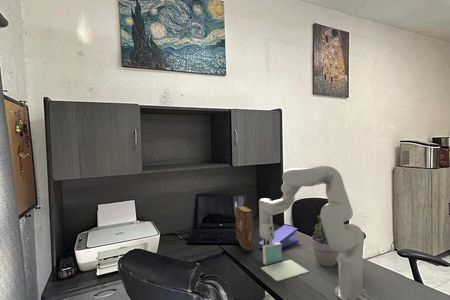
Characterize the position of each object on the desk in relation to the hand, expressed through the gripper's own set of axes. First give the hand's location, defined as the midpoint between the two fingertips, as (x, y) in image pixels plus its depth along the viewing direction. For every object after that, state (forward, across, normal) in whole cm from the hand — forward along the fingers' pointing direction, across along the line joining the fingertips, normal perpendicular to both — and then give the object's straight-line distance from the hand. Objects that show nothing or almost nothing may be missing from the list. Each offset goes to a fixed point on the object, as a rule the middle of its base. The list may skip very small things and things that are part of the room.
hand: (266, 250), depth 153 cm
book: (+5, +22, +3) cm, 22 cm away
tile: (+5, -6, 0) cm, 7 cm away
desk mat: (+4, -17, 0) cm, 17 cm away
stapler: (+5, +12, -18) cm, 22 cm away
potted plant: (+5, -21, -26) cm, 34 cm away
